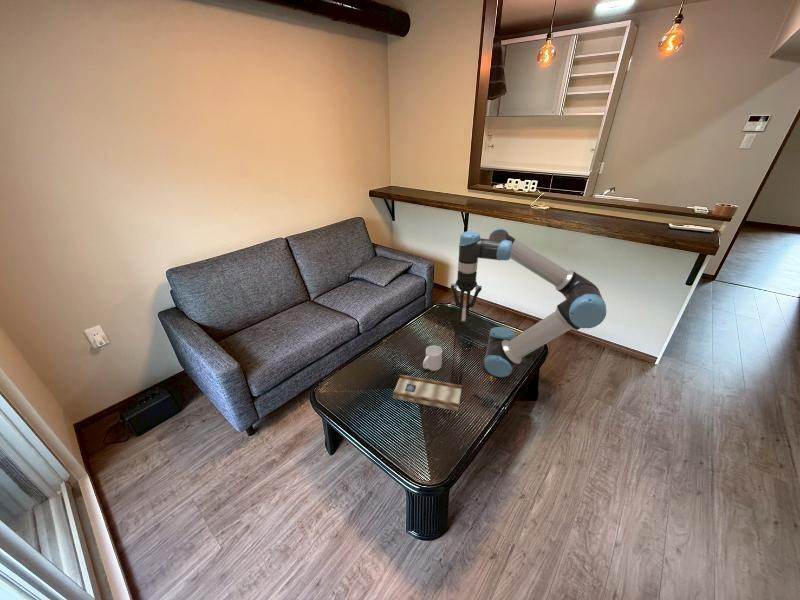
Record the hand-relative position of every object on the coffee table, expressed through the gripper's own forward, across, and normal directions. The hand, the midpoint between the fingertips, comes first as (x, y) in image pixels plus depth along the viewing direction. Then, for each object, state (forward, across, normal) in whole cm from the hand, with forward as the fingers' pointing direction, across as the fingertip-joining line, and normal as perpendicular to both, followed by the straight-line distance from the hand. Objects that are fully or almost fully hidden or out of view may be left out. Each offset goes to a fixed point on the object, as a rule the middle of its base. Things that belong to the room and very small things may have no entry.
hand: (463, 319), depth 134 cm
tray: (+34, +13, +15) cm, 40 cm away
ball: (+33, +21, +15) cm, 42 cm away
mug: (+35, +15, -4) cm, 38 cm away
